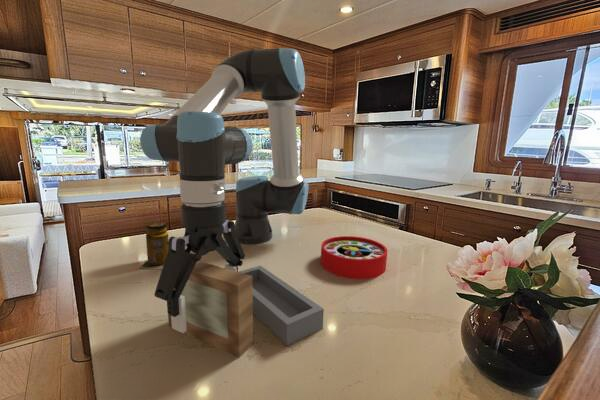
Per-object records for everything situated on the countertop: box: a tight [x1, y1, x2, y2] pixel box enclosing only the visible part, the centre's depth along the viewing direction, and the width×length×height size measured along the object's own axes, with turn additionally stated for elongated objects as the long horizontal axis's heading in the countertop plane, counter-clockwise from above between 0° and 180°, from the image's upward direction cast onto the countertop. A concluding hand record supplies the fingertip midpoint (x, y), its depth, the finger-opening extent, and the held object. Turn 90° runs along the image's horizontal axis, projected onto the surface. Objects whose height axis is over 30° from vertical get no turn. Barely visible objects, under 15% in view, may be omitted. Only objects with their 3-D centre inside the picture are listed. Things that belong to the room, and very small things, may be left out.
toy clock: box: [320, 235, 388, 280], centre depth 93 cm, size 20×6×20 cm
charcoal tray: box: [238, 265, 325, 347], centre depth 69 cm, size 25×9×4 cm, turn 38°
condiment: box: [138, 221, 170, 270], centre depth 90 cm, size 7×8×12 cm
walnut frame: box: [167, 260, 254, 358], centre depth 58 cm, size 18×4×14 cm, turn 63°
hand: (207, 310), depth 58 cm, fingers open, 13 cm apart
